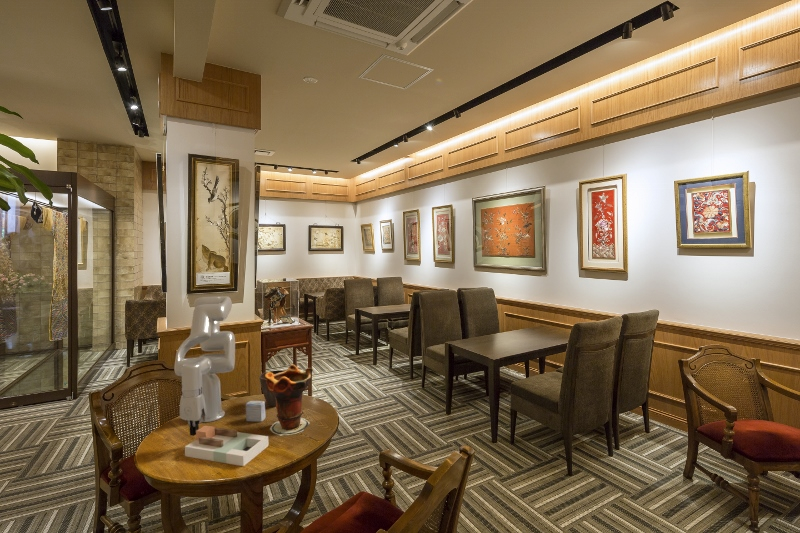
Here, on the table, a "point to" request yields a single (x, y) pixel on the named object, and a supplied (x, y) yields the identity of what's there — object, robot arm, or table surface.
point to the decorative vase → (289, 399)
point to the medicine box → (255, 411)
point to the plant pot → (267, 393)
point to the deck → (229, 449)
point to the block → (205, 432)
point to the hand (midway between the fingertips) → (194, 434)
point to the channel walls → (217, 441)
